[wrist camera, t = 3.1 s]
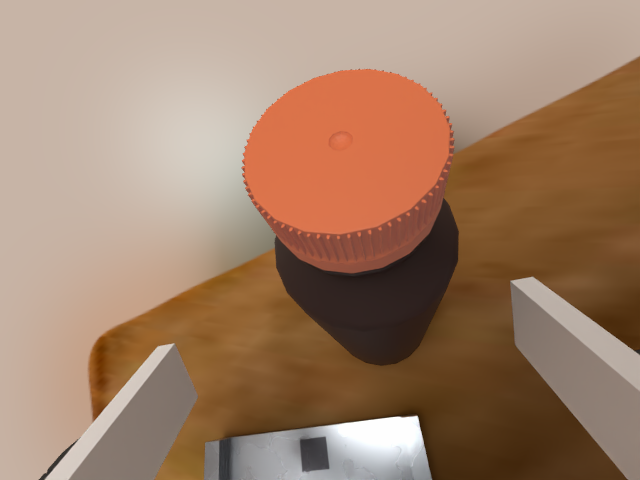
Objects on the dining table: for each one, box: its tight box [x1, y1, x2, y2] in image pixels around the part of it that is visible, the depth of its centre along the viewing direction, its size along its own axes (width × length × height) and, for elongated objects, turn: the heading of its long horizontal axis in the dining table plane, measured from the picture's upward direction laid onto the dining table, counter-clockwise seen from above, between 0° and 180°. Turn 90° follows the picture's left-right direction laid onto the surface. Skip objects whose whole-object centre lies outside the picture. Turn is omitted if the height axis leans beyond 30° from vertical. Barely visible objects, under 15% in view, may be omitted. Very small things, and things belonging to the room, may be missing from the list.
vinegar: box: [242, 69, 459, 365], centre depth 16 cm, size 7×7×20 cm
